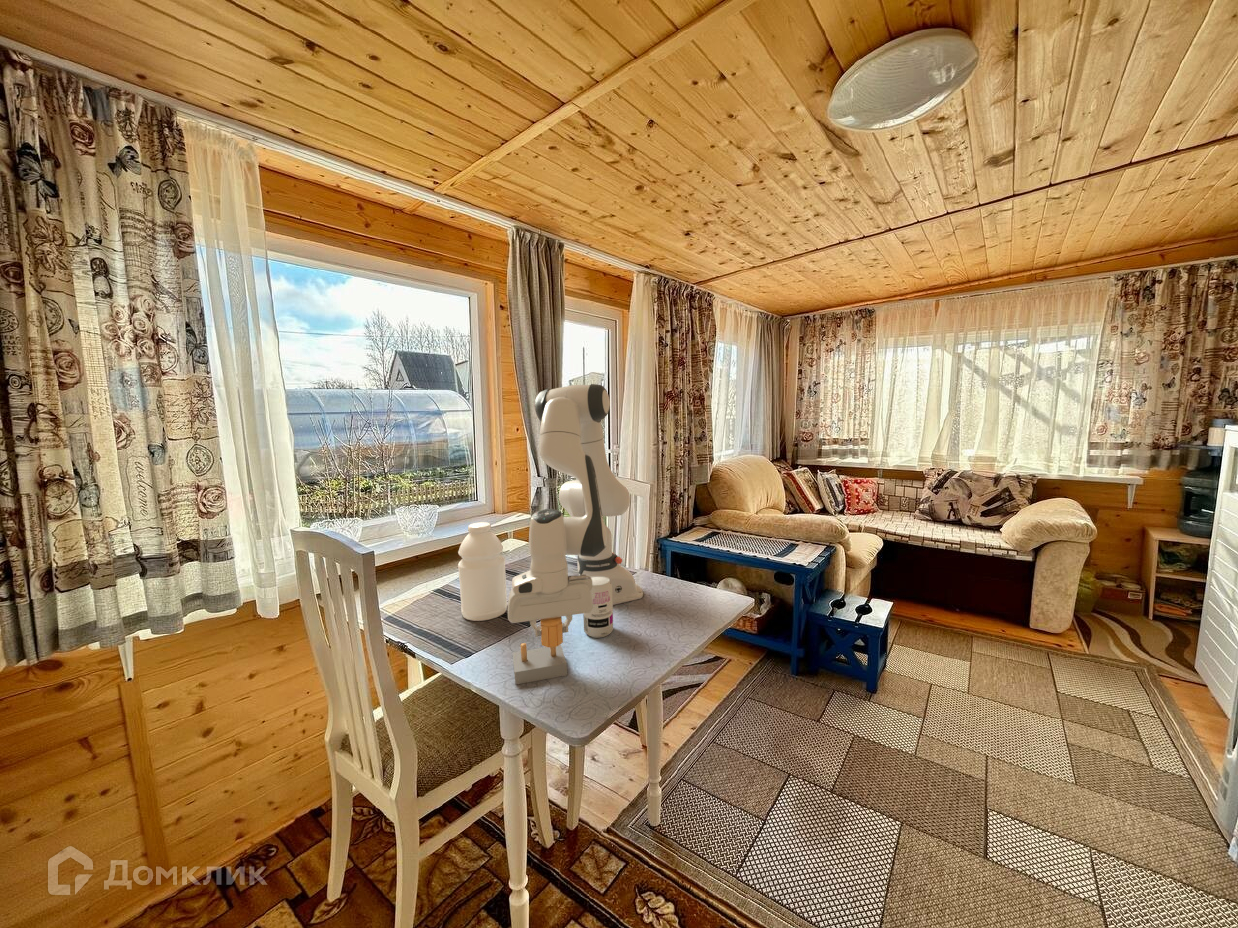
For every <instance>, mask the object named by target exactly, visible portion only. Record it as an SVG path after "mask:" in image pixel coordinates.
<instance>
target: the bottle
mask: <svg viewBox="0 0 1238 928" xmlns="http://www.w3.org/2000/svg"><path fill="white" fill-rule="evenodd" d="M491 530H492V526H491V524H490V522H486V521H485V522H484V521H481V522H480V521H479V522H473V523H471V524H469V525H468V526H467V531H468V534H467V535H465V537H464V539H463V540H462V542H461V544H460V546H459V547H458V548H459V549H458V551H457V553H458V555H459V557H461V560H460V561H459V562H458V564H457V567H458V568H457V569H458V578H459V581H458V582H459V594H460V595H459V596H460V606H461V607H460V612H461V615H462V617H463V618H464V619H466V620H468V621H475V622H477V621H478V622H480V621H488V620H489V621H490V620H493V619H495V618H498V617H500V616H502V615H504V614H505V613H506V612H507V611H508V598H507V597H508V595H507V582H506V581H507V578H506V576H507V575H506V559H505V557H504V556H503V555H501V553H502V552H503V551H504V546H503V543H502V541H501V540H500V538H499V537H497V535H496V534H495V533H493V532H492V531H491Z"/></svg>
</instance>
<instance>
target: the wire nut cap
mask: <svg viewBox="0 0 1238 928" xmlns="http://www.w3.org/2000/svg"><path fill="white" fill-rule="evenodd" d="M562 617H563V616H561V617H554V618H546V619H540V627H541V634H542V636H540V639H541V640H540V642H541V646H543V647H556V646H559V645H562V643H564V641H563V640H564V637H563V634H564V633H563V632H562V623H563V621H562V619H563V618H562Z"/></svg>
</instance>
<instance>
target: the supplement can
mask: <svg viewBox="0 0 1238 928" xmlns="http://www.w3.org/2000/svg"><path fill="white" fill-rule="evenodd" d="M590 578H591V579H592V590H591V591H590V592H591V596H592V603H593V608H592V610H591V611H590V612H589V613H583V630H584V633H585V634H586V635H587V636H589V637H591V638H595V639H596V638H597V639H598V638H604V637H608V636H609V635H610V634H611V633H612V632H613V630H614V609H613V608H614V607H613V606H614V605H613V603H612V584H611V582H610V580H609V578H607V577H604V576H592V577H590Z"/></svg>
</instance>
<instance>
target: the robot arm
mask: <svg viewBox="0 0 1238 928" xmlns="http://www.w3.org/2000/svg"><path fill="white" fill-rule="evenodd" d="M610 403H611V400H610V396H609V394H608V391H607V388H606V387H604V386H603V385H602V384H597V383H595V384H594V383H591V384H590V385H589V384H572V385H568V386H567V385H566V386H562V387H556V388H547V389H544V390H542V391H540V392H539V393H537V396H536V398H535V401H534V409H535V413H536V417H537V418H538V420H539V421H540V422H541V423H540V429H539V440H538V441H539V442H538V444H539V445H538V446H539V455H540V457H541V459H542V461H543V463H545V464H546V465H547V466H548V467H549V468H551V469H553V470H555V471H557V472H559V473H561V474H565V475H567V476H570V477H572V478H574V479H573V480H568V481H565V482H564V483H563V484H562V485H561V487H560V488H559V491H558V492H559V493H558V500H559V503H560V505H561V507H562V508H563V509H565V511H566V512H567V513H568V514H569V516H564V515H563V512H562V511H560V510H558V509H553V508H546V509H541V510H539V511H538V510H537V511H536V512H534V513H533V514H532V515H531V516H530V522H529V530H528V531H529V533H528V534H529V535H528V548H529V549H528V550H529V553H530V559H531V560H530V561H531V562H530V564H529V570H527V571H525V572H523V573H520V574H517V575H516V576H513V577H512V579H511V590H510V591H509V594H508V598H507V602H508V603H507V620H508V621H509V622H510V623H511V624H518V623H524V622H529V624H530V627H532V629H533V630H534V636H535V638H538V637H541V636H542V634H541V626H538V625H537V620H539V621H540V620H541V619H546V618H554V617H565V618H566V619H565V621H564V622H562V632H563V634H565V633H569V626H570V624H571V622H572V621H573V616H575V615H581V614H583V613H589V612H590V611H591V610H592V608H593V603H592V596H591V592H590V591H591V590H592V579H591V578H590V577H592V576H604V577H607V578H609V580H610V582H611V584H612V603H613V606H615V605H618V604H624V603H627V602H631V601H636V600H640V599H642V598H643V596H644V592H643V589H642V587H641V586H640V585H639V584H637V583H636V579H635V577H634V575H633V574H632V572H630V571H629V570H628V569H627V568H625V567H624V566H622V565H621V564H622V563H623V559H622V558H621V557H620V556H618V554H615V553H614V552H613V543H612V542H613V537H612V531H611V530H610V528H609V526H607V525H606V524H605V521H604V517H607V518H608V517H617V516H622V515H624V514H625V513H626V512H627V510H629V507H630V502H631V496H630V492H629V490H628V489H627V487H626V486H625V485H623V484H622V483H621V482H620V481H619V480H618V479H617V478H616V476H615V474H614V473H613V471H612V469H611V467H610V464H609V462H608V460H607V459H608V458H607V454H606V448H605V441H604V433H603V428H602V420H603V419H604V420H605V418H606V417H607V416H608V414H609V412H610V407H611V406H610V405H611V404H610ZM566 556H577V559H576V561H577V562H576V563H577V566H576V567H577V572H578V575H569V570H568V567H569V566H568V561H567V557H566Z"/></svg>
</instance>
